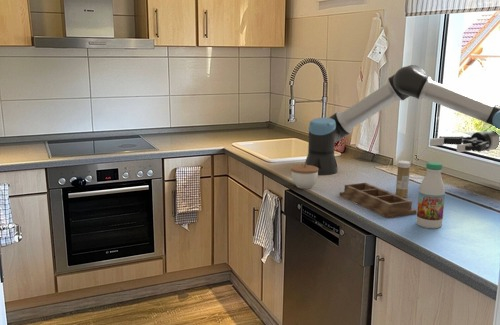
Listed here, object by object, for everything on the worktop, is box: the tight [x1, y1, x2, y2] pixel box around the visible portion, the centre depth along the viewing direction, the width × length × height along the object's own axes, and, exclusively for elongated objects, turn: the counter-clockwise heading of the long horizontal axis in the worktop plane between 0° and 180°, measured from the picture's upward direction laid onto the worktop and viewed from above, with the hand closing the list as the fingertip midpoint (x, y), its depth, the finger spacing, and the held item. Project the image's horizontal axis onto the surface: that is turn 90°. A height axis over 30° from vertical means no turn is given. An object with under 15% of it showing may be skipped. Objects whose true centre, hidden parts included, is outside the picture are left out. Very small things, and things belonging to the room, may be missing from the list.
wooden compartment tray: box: [338, 182, 417, 219], centre depth 177 cm, size 28×12×4 cm, turn 24°
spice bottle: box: [394, 160, 411, 199], centre depth 185 cm, size 5×5×14 cm
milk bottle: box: [415, 161, 446, 229], centre depth 154 cm, size 8×8×20 cm
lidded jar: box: [290, 163, 319, 190], centre depth 198 cm, size 11×11×9 cm
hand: (443, 145), depth 189 cm, fingers open, 13 cm apart
